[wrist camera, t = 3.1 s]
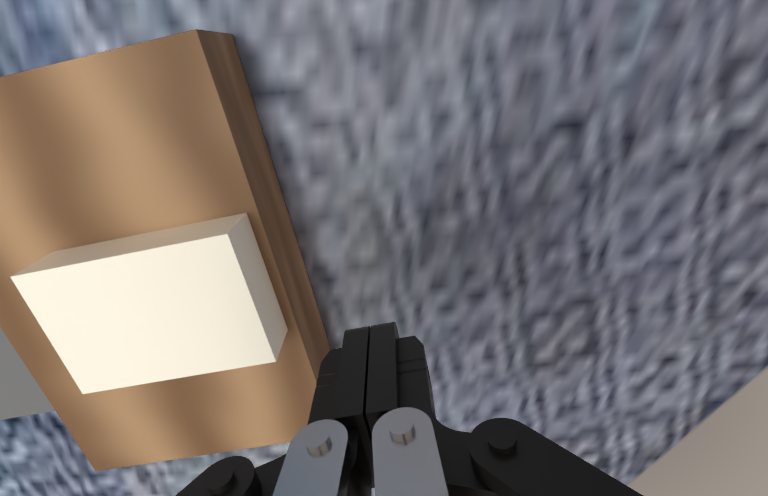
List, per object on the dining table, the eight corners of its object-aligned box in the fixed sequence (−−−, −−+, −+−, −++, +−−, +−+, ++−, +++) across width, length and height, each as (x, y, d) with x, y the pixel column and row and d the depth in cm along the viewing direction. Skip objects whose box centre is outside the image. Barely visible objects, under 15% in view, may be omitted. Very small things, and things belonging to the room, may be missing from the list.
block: (246, 212, 19) (227, 233, 16) (287, 329, 21) (275, 361, 19) (52, 251, 19) (10, 276, 17) (113, 360, 22) (82, 394, 20)
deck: (232, 34, 19) (196, 29, 16) (342, 384, 27) (334, 435, 24) (-49, 102, 21) (-143, 112, 17) (133, 417, 29) (95, 470, 25)
